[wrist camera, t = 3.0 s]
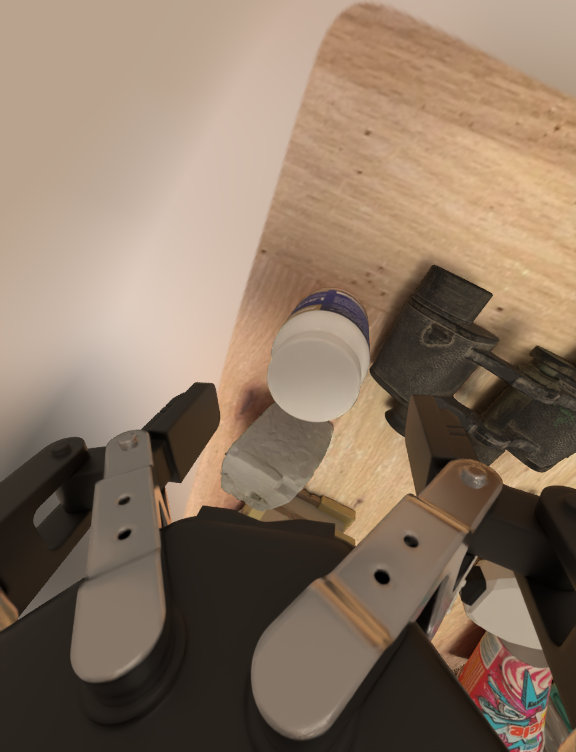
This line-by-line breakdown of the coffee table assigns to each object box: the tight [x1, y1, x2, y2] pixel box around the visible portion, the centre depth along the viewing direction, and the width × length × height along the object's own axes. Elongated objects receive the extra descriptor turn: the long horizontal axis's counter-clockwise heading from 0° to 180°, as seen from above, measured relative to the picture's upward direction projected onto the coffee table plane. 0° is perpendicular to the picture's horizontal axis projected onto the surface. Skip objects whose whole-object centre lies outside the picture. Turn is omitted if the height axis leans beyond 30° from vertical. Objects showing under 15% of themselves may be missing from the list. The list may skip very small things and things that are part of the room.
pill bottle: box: [267, 288, 370, 422], centre depth 20 cm, size 6×6×10 cm
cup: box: [456, 631, 552, 752], centre depth 33 cm, size 9×8×12 cm
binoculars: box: [369, 265, 576, 472], centre depth 21 cm, size 11×16×6 cm
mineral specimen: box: [221, 402, 333, 512], centre depth 26 cm, size 7×9×8 cm
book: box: [238, 489, 355, 546], centre depth 33 cm, size 15×11×5 cm
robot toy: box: [446, 560, 542, 650], centre depth 28 cm, size 12×4×15 cm
